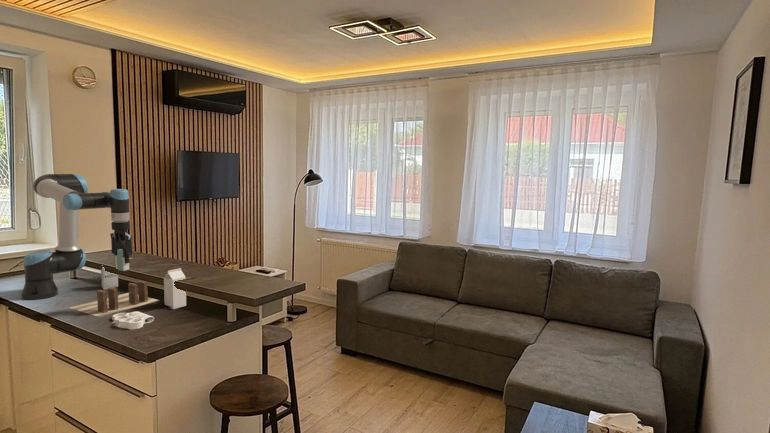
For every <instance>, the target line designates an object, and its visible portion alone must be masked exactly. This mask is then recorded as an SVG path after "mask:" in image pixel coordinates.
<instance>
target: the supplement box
mask: <svg viewBox="0 0 770 433" xmlns="http://www.w3.org/2000/svg"><path fill="white" fill-rule="evenodd" d="M100 276H101V289H102V290H104V291H106V290H108V288H111V287H112V288H118V287H119V274H118V275H117V274H114V273H110V272H107V271H105V268H104V267H102V269H101V268H100Z"/></svg>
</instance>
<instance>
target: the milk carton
mask: <svg viewBox="0 0 770 433" xmlns="http://www.w3.org/2000/svg"><path fill="white" fill-rule="evenodd" d="M183 279H186V275H185V273H184V272H183V270H182V268H181V267H177V268H175V269H169V270H167V273H166V274H165V276H164V277H163V288H164V289H163V292H164V295H163V296H164V297H163V298H164V305H165V306H168V309H172V310H176V309H179V308H183V307H186V306H187V291H186V292H185V291H183V290H180V289H177V288H176V287H175V286H174V285H175V284H174V282H175V281H178V280H183Z"/></svg>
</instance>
